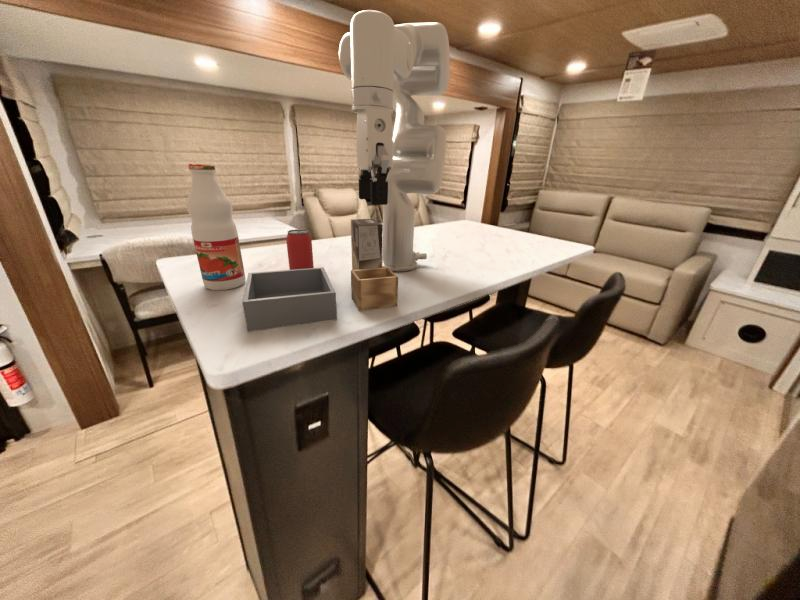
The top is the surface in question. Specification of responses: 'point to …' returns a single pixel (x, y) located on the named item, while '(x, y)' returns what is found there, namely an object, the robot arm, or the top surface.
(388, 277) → the small crate
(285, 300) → the big crate
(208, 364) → the top surface
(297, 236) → the beer can
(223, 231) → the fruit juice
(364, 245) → the coffee box
